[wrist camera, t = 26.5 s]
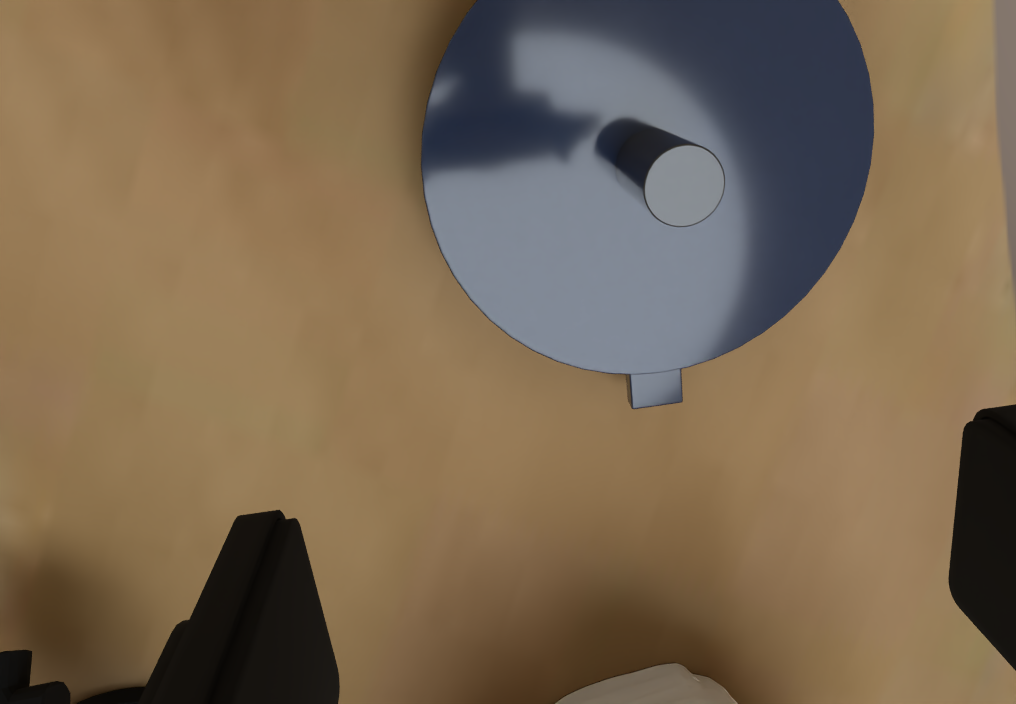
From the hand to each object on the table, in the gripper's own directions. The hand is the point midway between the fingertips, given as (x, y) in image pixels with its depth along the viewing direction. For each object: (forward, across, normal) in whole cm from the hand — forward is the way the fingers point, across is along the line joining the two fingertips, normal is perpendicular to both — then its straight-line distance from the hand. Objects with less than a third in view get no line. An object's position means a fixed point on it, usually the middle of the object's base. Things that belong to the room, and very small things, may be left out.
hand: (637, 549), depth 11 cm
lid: (+23, -6, -1) cm, 23 cm away
